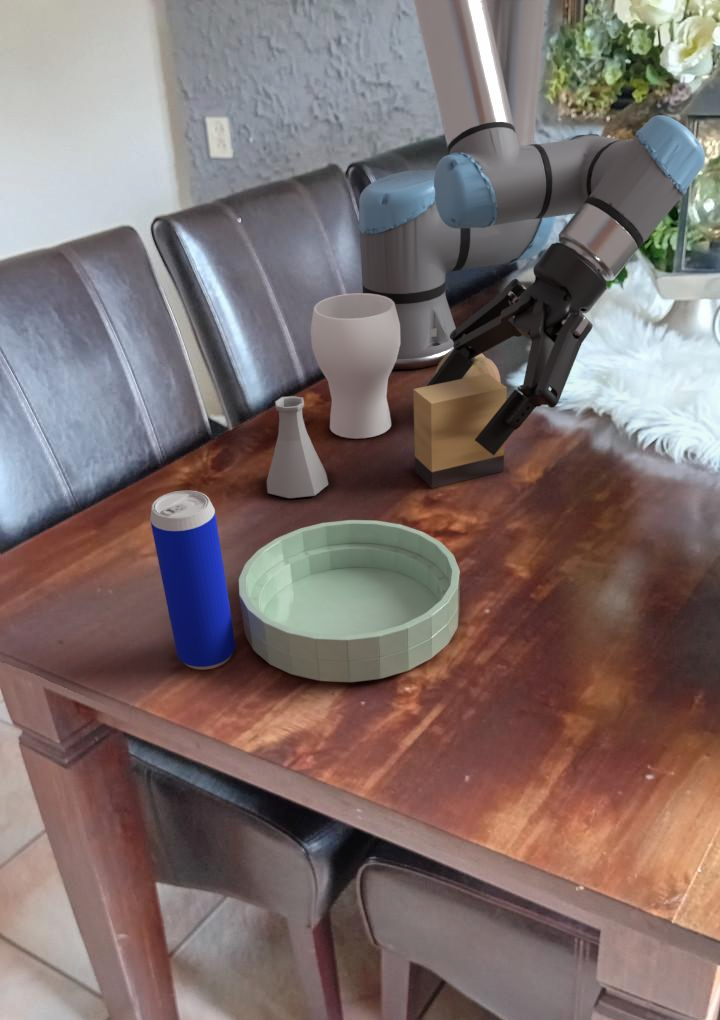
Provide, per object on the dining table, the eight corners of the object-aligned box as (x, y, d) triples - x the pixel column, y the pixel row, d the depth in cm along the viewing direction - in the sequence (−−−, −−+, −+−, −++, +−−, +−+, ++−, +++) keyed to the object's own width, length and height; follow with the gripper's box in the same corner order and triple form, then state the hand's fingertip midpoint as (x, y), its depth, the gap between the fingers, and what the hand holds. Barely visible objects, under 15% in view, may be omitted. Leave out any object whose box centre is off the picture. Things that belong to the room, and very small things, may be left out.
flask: (321, 502, 110) (314, 416, 104) (257, 498, 111) (247, 414, 105) (335, 472, 116) (329, 389, 110) (275, 469, 117) (266, 387, 111)
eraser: (485, 455, 117) (487, 373, 111) (503, 471, 114) (506, 387, 108) (414, 472, 115) (413, 388, 109) (431, 488, 111) (431, 403, 105)
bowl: (270, 561, 100) (264, 517, 97) (464, 567, 98) (465, 522, 95) (222, 682, 85) (214, 634, 82) (451, 693, 82) (451, 644, 79)
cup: (304, 438, 123) (293, 317, 114) (338, 405, 131) (330, 288, 122) (385, 449, 120) (380, 324, 111) (414, 413, 128) (412, 294, 119)
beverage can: (212, 630, 91) (187, 482, 82) (248, 653, 88) (226, 501, 79) (166, 656, 88) (135, 505, 80) (201, 680, 85) (173, 526, 76)
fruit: (455, 432, 123) (455, 369, 118) (423, 410, 128) (422, 349, 124) (510, 418, 125) (513, 355, 120) (477, 396, 131) (478, 336, 126)
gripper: (673, 316, 98) (532, 487, 103) (541, 256, 117) (427, 403, 122) (633, 269, 94) (488, 450, 98) (503, 215, 113) (386, 369, 117)
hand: (454, 424), depth 110 cm, fingers open, 13 cm apart
